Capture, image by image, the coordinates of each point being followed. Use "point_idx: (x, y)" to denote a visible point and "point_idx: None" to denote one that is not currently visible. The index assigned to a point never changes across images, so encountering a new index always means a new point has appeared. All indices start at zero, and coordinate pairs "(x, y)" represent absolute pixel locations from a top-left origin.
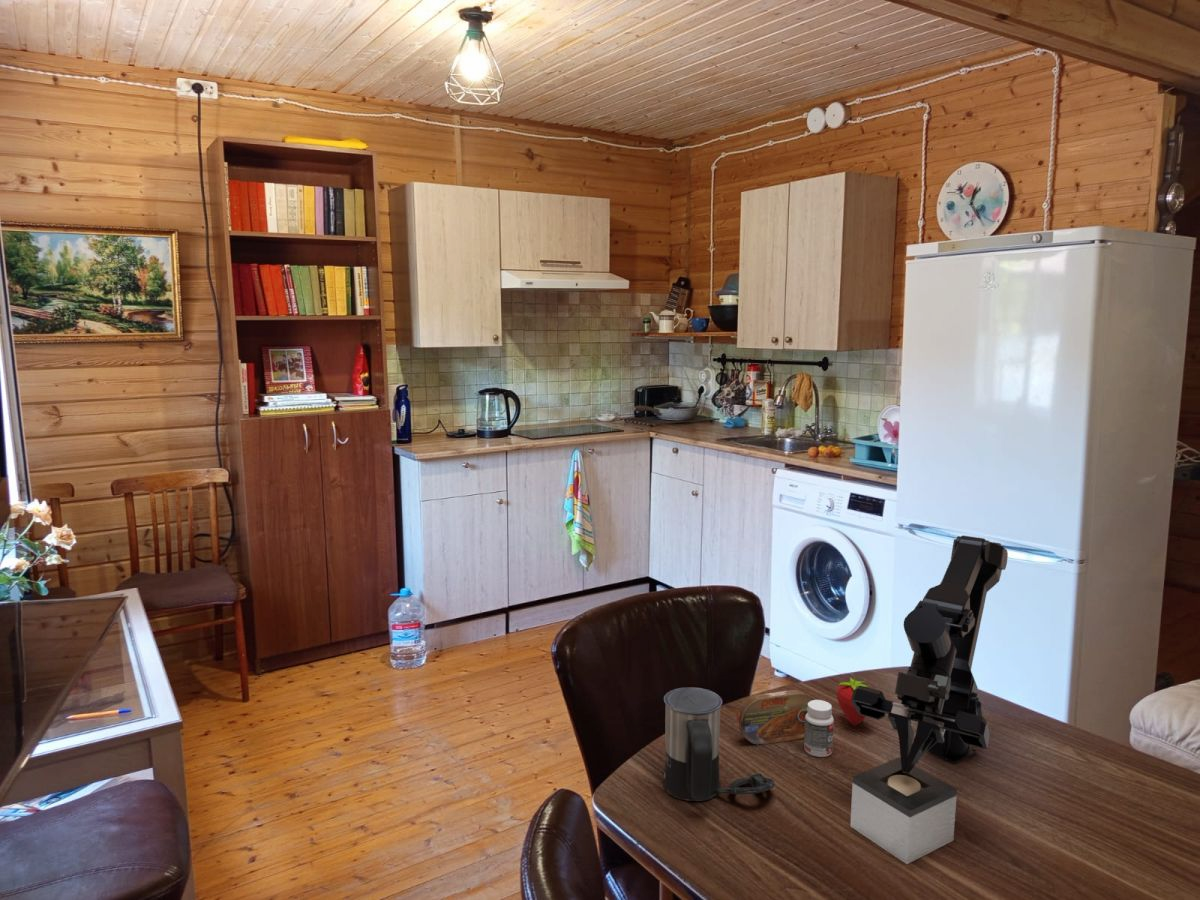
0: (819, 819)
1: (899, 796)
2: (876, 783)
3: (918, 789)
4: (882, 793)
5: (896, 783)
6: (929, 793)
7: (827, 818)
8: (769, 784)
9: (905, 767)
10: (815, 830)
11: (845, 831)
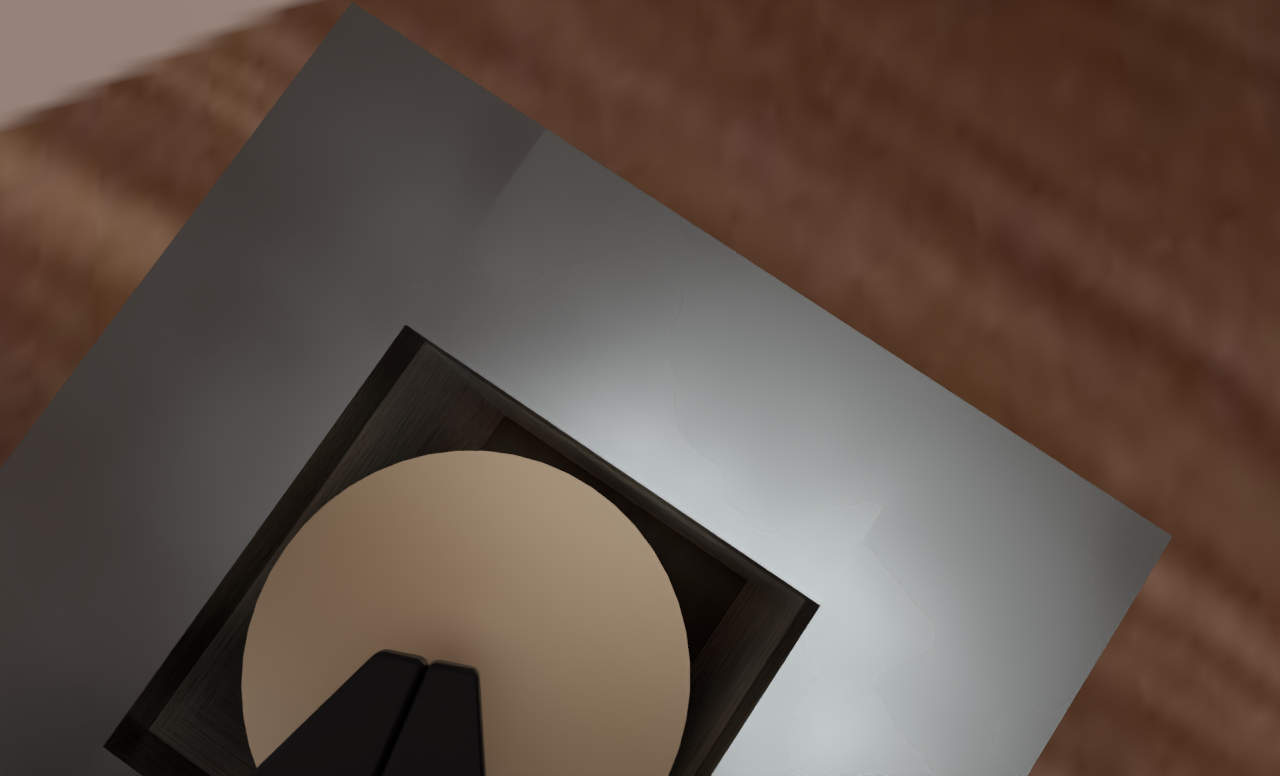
0: (1214, 540)
1: (501, 272)
2: (830, 485)
3: (267, 584)
4: (720, 259)
5: (567, 616)
6: (117, 519)
7: (1155, 584)
8: None
9: (404, 689)
10: (1205, 367)
11: None
